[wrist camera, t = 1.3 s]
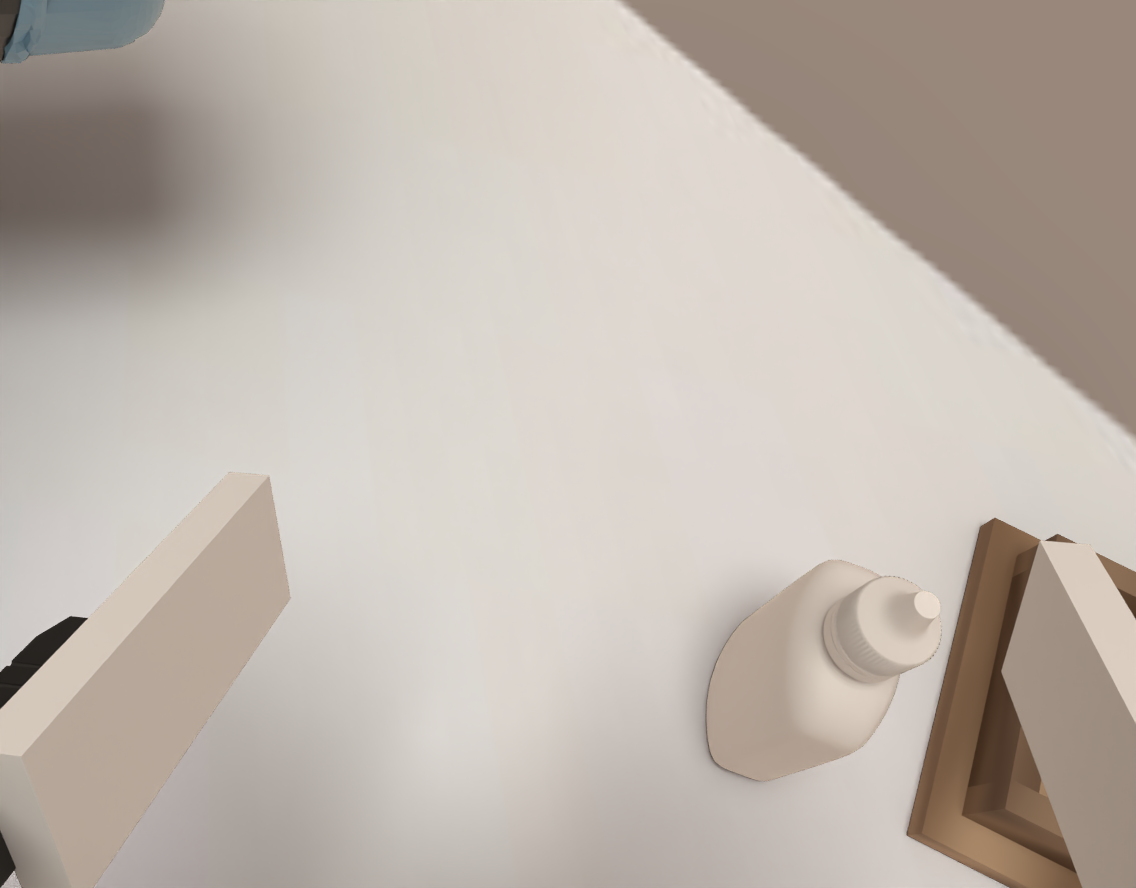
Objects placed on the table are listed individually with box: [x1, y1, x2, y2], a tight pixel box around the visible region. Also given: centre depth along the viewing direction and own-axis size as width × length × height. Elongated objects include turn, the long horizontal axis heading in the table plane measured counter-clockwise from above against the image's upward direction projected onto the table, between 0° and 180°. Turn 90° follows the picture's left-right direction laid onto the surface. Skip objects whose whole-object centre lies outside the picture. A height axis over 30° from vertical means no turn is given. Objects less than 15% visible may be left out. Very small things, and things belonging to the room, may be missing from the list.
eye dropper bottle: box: [706, 560, 942, 781], centre depth 28 cm, size 4×6×12 cm
